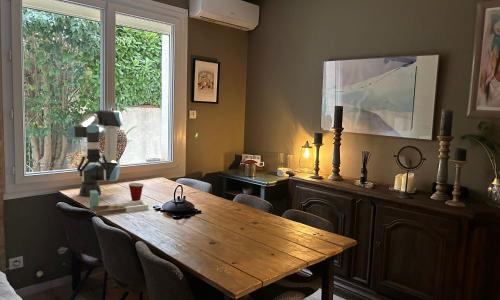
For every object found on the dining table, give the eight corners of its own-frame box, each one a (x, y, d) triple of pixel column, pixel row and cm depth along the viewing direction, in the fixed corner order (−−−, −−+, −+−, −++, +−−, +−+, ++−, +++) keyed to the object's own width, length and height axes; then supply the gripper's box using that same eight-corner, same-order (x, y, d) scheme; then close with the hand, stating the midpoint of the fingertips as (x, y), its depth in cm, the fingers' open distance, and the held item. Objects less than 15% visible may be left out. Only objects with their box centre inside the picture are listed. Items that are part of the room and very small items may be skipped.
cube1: (108, 210, 249) (108, 204, 248) (114, 209, 251) (114, 203, 251) (110, 212, 245) (110, 205, 245) (116, 211, 248) (116, 205, 247)
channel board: (92, 210, 247) (92, 206, 247) (121, 206, 257) (121, 203, 257) (96, 215, 237) (96, 211, 236) (126, 212, 246) (126, 208, 246)
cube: (116, 209, 250) (116, 204, 250) (122, 209, 252) (122, 203, 252) (117, 211, 247) (117, 205, 246) (123, 211, 248) (123, 205, 248)
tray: (121, 206, 257) (121, 202, 257) (142, 204, 265) (142, 200, 264) (126, 212, 246) (126, 207, 246) (148, 209, 254) (148, 204, 253)
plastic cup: (146, 200, 275) (146, 184, 273) (132, 202, 268) (131, 186, 267) (140, 197, 283) (140, 181, 282) (126, 199, 276) (126, 183, 275)
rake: (90, 206, 255) (89, 190, 254) (96, 206, 258) (96, 190, 256) (92, 209, 249) (91, 193, 247) (98, 209, 251) (98, 192, 249)
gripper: (73, 149, 238) (74, 183, 241) (114, 148, 252) (115, 179, 254) (71, 148, 244) (72, 180, 247) (112, 147, 258) (112, 177, 261)
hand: (94, 180), depth 251 cm, fingers open, 13 cm apart
